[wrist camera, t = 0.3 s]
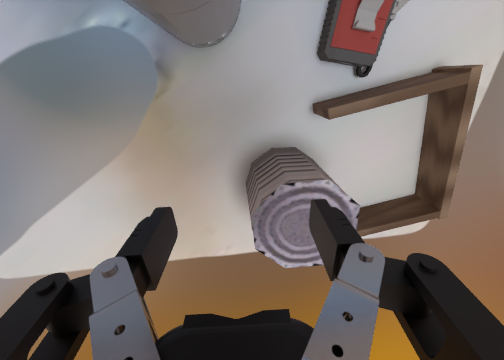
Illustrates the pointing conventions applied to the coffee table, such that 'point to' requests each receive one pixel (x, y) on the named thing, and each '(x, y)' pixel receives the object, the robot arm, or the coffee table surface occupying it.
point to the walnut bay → (433, 145)
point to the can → (290, 205)
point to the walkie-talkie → (356, 31)
